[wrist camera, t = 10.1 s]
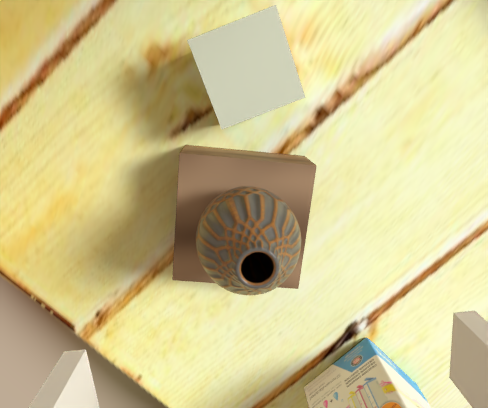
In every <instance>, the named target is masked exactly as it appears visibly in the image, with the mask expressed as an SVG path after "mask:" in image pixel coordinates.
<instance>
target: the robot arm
mask: <svg viewBox="0 0 488 408" xmlns="http://www.w3.org/2000/svg"><path fill="white" fill-rule="evenodd" d="M449 378H450V379H451V380H452V381H453V383H454V384H455V385H456V387H457V388H458V389H459V391H460V392H461V393H462V395H463V396H464V397H465V398H466V400H467V401H468V402H469V404H470V405H471V406H472V408H488V322H487V321H486V320H485V319H484V318H482V317H481V316H480V315H479V314H478V313H477V312H476V311H468V312H458V313H454V315H453V330H452V346H451V361H450V377H449ZM28 408H99V404H98V400H97V395H96V391H95V387H94V382H93V378H92V374H91V370H90V365H89V361H88V357H87V353H86V350H76V351H66V352H64V353H63V354H62V356H61V358H60V359H59V361H58V362H57V364H56V365H55V367H54V368H53V370H52V371H51V373H50V375H49V376H48V378H47V379H46V381H45V383H44V384H43V386H42V387H41V389H40V390H39V392H38V393H37V395H36V397H35V398H34V400H33V401H32V403H31V404H30V406H29V407H28Z"/></svg>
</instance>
